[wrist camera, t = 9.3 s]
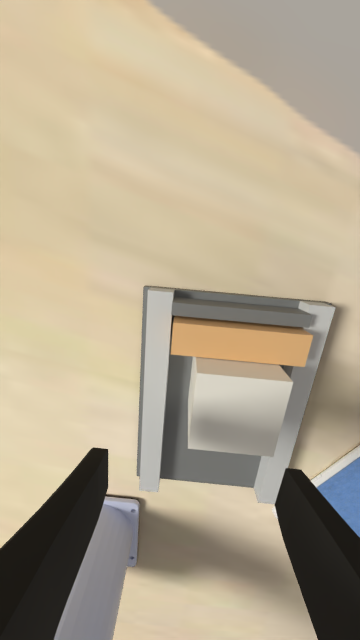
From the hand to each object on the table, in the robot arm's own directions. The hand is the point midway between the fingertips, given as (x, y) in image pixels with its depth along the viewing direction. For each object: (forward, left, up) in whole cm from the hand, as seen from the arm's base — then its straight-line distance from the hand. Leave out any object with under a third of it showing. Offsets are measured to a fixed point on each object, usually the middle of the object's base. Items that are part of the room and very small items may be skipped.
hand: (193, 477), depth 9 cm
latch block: (+4, -2, -8) cm, 10 cm away
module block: (0, -3, -8) cm, 8 cm away
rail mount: (-2, -2, -8) cm, 9 cm away
